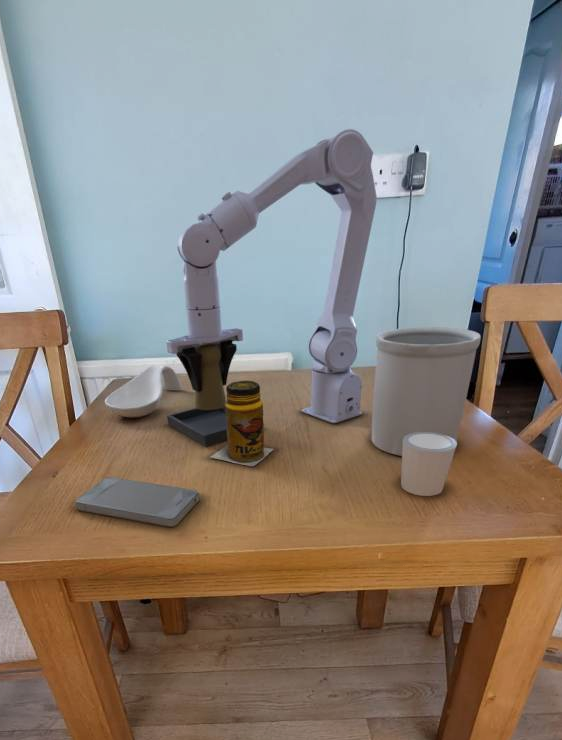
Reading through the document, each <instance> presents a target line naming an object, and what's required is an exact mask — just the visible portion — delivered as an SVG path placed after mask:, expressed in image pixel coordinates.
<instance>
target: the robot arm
mask: <svg viewBox="0 0 562 740" xmlns="http://www.w3.org/2000/svg"><path fill="white" fill-rule="evenodd" d="M373 156H374V151H373V149H372V148H371V147H370V145H369V143H368V141H367V140H366V139H365V137H364V135H362V133H361V132H359V131H358V130H356V129H353V128H347V129H344V130H342V131H340V132H338V133H337V134H336V135H333V136H332V137H329V138H326V139H323V140H321V141H319V142H318V143H316V144H315V145H313V146H311V147H309V148H307V149H305V150H303V151H301V152H299V153H297V154H295V155H294V156H292V157H291V158H290V159H289V160H288V161H286V162H285V163H284V164H283V165H282V166H280V167H279V168H278V169H277V170H275V171H274V172H273V173H272V174H270V175H269V176H268V177H267V178H266V179H265V180H263V181H262V182H261V183H259V184H258V185H257V186H256V187H254V188H253V189H252V190H251V191H250V192H248V193H246V192H243V191H240V190H235V191H234V192H233V193H231V191H227V192H226V193H224V194H223V195H222V196H221V200H222V201H220V203H218V204H217V205H216V206H215V207H213V208H211V210H210V211H208V212H206V213H205V214H204V213H200V214H199V215H197V216H196V219H197V221H198V222H197V223H193V224H191V225H190V226H187V227H186V228H185V229H184V230H182V232H181V234H180V236H179V238H178V245H177V247H176V248H177V252H178V255H179V257H180V258H181V260H182V272H183V288H184V298H185V299H184V300H185V308H186V319H187V328H188V334H187V335H183V336H180V337H176V338H173V339H168V340H166V341H165V344H166V351H167V353H168V354H171V355H176V357H177V358H178V359H179V361H180V363H181V364H182V366H183V368H184V370H185V372H186V374H187V377H188V379H189V381H190V384H191V385H190V386H191V388H192V390H193V391H194V392H195V391H197V392H199V391H201V389H202V384H201V373H200V372H201V358H202V355H201V354H199V353H197V351H195V349H197V348H199V347H201V346H203V345H208V344H216V345H218V347H219V348H220V351H221V359H220V361H219V367H220V372H221V377H222V382H223V387H224V386H227V382H228V376H229V371H230V367H231V364H232V361H233V359H234V356H235V354H236V352H237V350H238V349H237V347H238V345H237V344H236V343H234V342H243V341H244V337H243V336H244V335H243V329H241V328H237V327H235V328H230V329H229V328H227V329H222V319H221V302H220V289H219V288H220V287H219V286H220V285H219V277H218V270H217V260H218V258H219V257H220V252H221V251H222V252H225V251H226V250H228V249H229V248H230V247H232V246H233V245H234V244H236V243H237V242H238V241H239V240H241V239H242V238H244V237H245V236H246V235H248V234H249V233H251V232H252V231H253V230H254V229H255V228H256V227H257V224H258V220H259V215H260V214H261V213H262V212H263V211H265V210H267V208H269V207H271V206H272V205H273V204H275V203H276V202H278V201H279V200H280V199H282V198H283V197H285V196H286V195H287V194H289V193H291V192H292V191H293V190H295V189H296V188H298V187H299V186H300V185H311V184H315V185H316V186H317V187H319V188H320V189H321V190H323V191H324V192H326V193H327V194H328V195H330V196H331V198H332V200H333V202H335V204H336V205H337V206H338V208H339V209H340V212H341V213H340V219H339V224H338V229H337V235H336V240H335V247H334V251H333V258H332V263H331V268H330V274H329V279H328V285H327V291H326V296H325V302H324V307H323V312H322V313H321V315H320V316H319V317H318V318H317V320H316V323H315V324H316V325H315V329H314V331H313V332H312V334H311V335H310V338H309V340H308V344H307V349H308V353H309V355H310V357H311V358H313V362H312V365H311V383H310V384H311V389H310V406H308V407H305V408H302V409H301V412H302V413H304V414H305V415H310V416H311V417H314V418H317V419H320V420H323V421H325V422H328V423H331V424H337V423H340V422H343V421H346V420H349V419H352V418H355V417H358V416H361V415H363V411H361V410H360V409H361V397H362V385H363V384H362V379H361V377H360V376H359V375H358V374H356V373H354V372H353V371H352V370H351V366H353V364H354V362H355V361H356V359H357V356H358V345H357V339H356V338H357V335H358V328H357V326H356V322H355V319H354V312H355V307H356V303H357V299H358V293H359V288H360V283H361V280H362V279H361V278H362V273H363V268H364V264H365V259H366V254H367V250H368V246H369V240H370V235H371V231H372V227H373V226H372V225H373V221H374V217H375V211H376V207H377V199H378V196H377V191H376V184H375V178H374V173H373V172H374V171H373V168H372V161H373Z"/></svg>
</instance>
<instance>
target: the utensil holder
mask: <svg viewBox="0 0 562 740" xmlns="http://www.w3.org/2000/svg"><path fill="white" fill-rule="evenodd" d="M481 338H482V336H481V333H478V332H477V331H474V330H470V329H465V328H459V327H446V326H417V327H404V328H395V329H389V330H385V331H382V332H379V333H378V334H377V335H376V341H375V344H376V347H377V349H376V364H375V374H374V375H375V377H374V389H373V400H372V401H373V402H372V415H371V419H372V420H371V442H372V444H373V445H374V447H376V448H378V449H379V450H381V451H382V452H385V453H388V454H391V455H395V456H399V457H402V449H403V439H404V437H405V436H406V435H409V434H411V433H417V432H432V433H439V434H443V435H446V436H449V437H451V438H453V439H454V440H455V441H456V442H457V441H458V439H459V433H460V429H461V425H462V421H463V416H464V411H465V407H466V401H467V397H468V392H469V387H470V382H471V378H472V373H473V369H474V364H475V359H476V354H477V349H478V348H479V346H480V343H481ZM457 443H458V442H457Z"/></svg>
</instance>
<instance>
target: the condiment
mask: <svg viewBox="0 0 562 740" xmlns="http://www.w3.org/2000/svg"><path fill="white" fill-rule="evenodd" d="M225 390H226V395H225V397H226V404H225V412H226V427H227V440H226V441H227V442H226V443H227V444H226V445H225V446H224V447H223V448H221V449H219V451H216V452H215V453H214V454H212V455H211V456H210V457H209V458H210V459H215V460H221V461H226V462H230V463H233V464H238V465H243V466H247V467H255V466H256V465H257V464H259V463H260V462H261V461H263V460H264V459H265V458H266V457H267V456H269V454H270V453H272V451H274V448H271V447H270V448H269V447H265V431H264V430H265V427H264V425H265V424H264V403H263V400H261V386H260V384H259V383H258V382H256V381H253V380H238V381H233V382H231V383H230V382H229V384H228V385H226V389H225Z"/></svg>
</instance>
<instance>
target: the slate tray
mask: <svg viewBox="0 0 562 740" xmlns="http://www.w3.org/2000/svg"><path fill="white" fill-rule="evenodd" d="M166 418H167V425H168V427H171V428H172V429H174V430H175V431H177V432H179V433H181V434H182V435H185V436H186V437H188V438H189V439H191V440H192V441H195V442H196V443H198V444H200V445H202V446H203V447H205V448H206V447H207V448H208V447H210V446H212V445H216V444H219V443H222V442H225V441H227V427H226V412H225V407H223V408H220V409H216V410H200V409H197V408H196V407H193V408H190V409H185V410H182V411H178V412H175V413H171V414H167V415H166Z"/></svg>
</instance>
